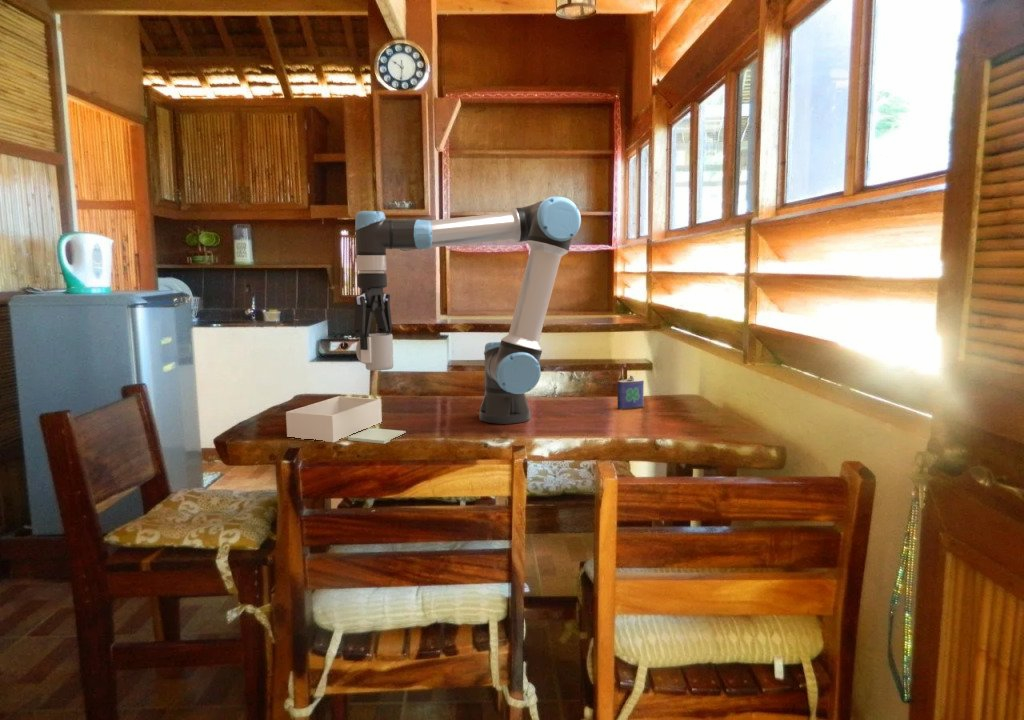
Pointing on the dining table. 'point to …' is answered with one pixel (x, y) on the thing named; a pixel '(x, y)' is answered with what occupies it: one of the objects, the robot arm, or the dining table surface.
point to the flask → (630, 394)
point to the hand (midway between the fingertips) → (374, 360)
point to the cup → (379, 352)
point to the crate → (333, 418)
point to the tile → (376, 435)
